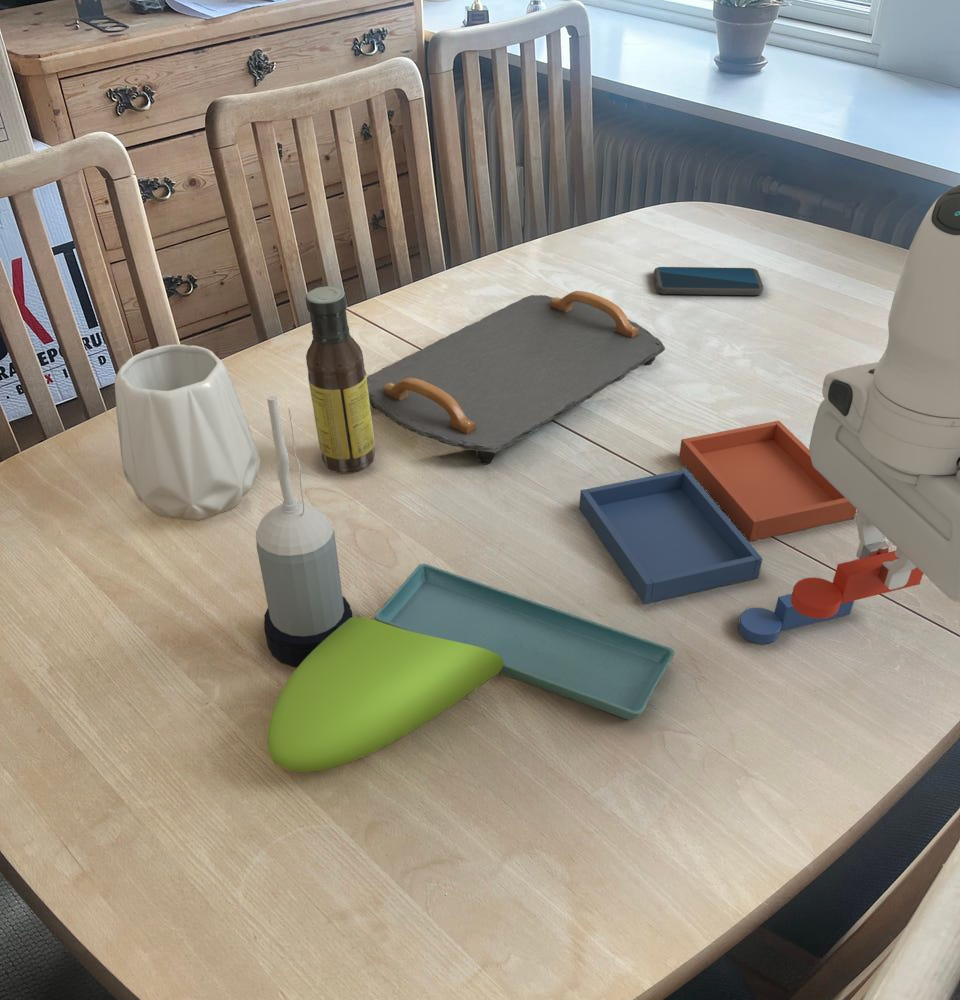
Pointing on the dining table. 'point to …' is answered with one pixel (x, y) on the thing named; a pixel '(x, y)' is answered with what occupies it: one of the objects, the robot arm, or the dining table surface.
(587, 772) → the dining table surface
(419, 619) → the shallow long dish
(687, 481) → the tray blue
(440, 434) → the serving tray
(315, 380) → the sauce bottle
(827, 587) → the red bar with disc
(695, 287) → the smartphone
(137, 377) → the vase
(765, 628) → the spoon blue
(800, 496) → the tray red
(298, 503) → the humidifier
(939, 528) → the robot arm
